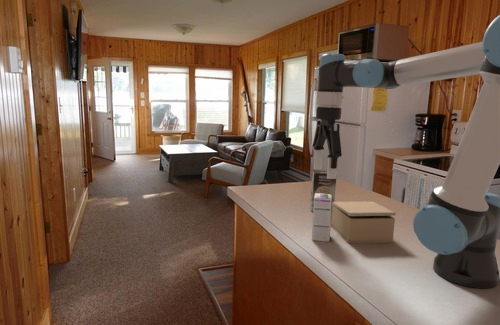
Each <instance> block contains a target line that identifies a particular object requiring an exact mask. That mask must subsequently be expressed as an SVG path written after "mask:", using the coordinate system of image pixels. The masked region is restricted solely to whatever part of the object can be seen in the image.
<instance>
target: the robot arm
mask: <svg viewBox="0 0 500 325" xmlns="http://www.w3.org/2000/svg"><path fill="white" fill-rule="evenodd" d="M318 65H319V66H318V83H317V84H318V86H317V92H316V105H318V106H317V107H316V111H315V112H316V113H315V118H316V119H318V120H317V122H316V128H315V134H314V138H313V141H312V148H313V149H314V154H313V155H314V156H313V170H323V157H324V151H325V146H324V145H325V143H326V144H327V149H328V153H329V154H328V155H327V170H326V171H327V179H336V180H337V177H336V176H338V174H337V172H338V161H339V158H341V157H342V156H343V154H342V145H341V144H342V143H341V136H340V134H341V133H340V128H341V127H340V123H336V121H339V120H340V119H341V117H342V108H341V107H342V103H343V99H344V95H343V93H344V88H345V87H346V88H347V87H348V88H349V87H350V88H368V89H369V88H371V89H384V90H393V89H397V88H399V87H403V86H409V85H416V84H423V83H429V82H435V81H441V80H449V79H454V78H455V79H456V78H462V77H469V76H475V75H480V76H481V78H482V80H483V84H482V86H481V88H480V91H479V94H478V96H477V99H476V101H475V104H474V105H473V109H472V111H471V114H470V116H469V119H468V121H467V123H466V125H465V128H464V130H463V133H462V135H461V139H460V140H459V143H458V146H457V148H456V151H455V154H454V156H453V158H452V160H451V163H450V165H449V168H448V169H447V170H448V171H447V173H446V176H445V178H444V180H443V182H442V183H441V184H439V185H436V186H434V187H433V188H432V191H431V193H430V196H429V198H428V201H427V204H426V205H424V206H422V207H421V208H420V209H419V210H418V211H416V213H415V214H414V217H413V221H412V225H413V226H412V227H413V231H414V234H415V236H416V237H417V239H418V241H419V242H420V244H422V245H423V246H424V247H425V248H426V249H428V250H429V251H431V252H433V253H435V254H437V255H436V256H435V257H434V259H433V265H432V269H433V272H435V273H436V275H439V276H440V277H441V278H443V279H445V280H446V281H447V280H448V281H449V282H451V283H455V284H458V285H461V286H462V287H463V286H465V287H469V288H473V287H474V289H491V287H492V288H494V287H497V286H498V284H499V282H500V271H499V267H498V261H497V256H496V246H497V243H498V242H497V241H498V234H499V229H500V195H498V194H495V193H493V192H488V191H489V189H490V186H491V184H492V183H493V180H494V177H495V175H496V173H497V171H498V168H499V167H500V14H499V15H498V16H496V17H495V18H494V19H493V20H492V21H491V23H490V24H489V25H488V26H487V28H486V30H485V31H484V35H483V38H482V41H480V42H475V43H471V44H467V45H461V46H457V47H456V46H455V47H453V48H447V49H444V50H439V51H435V52H429V53H425V54H420V55H416V56H415V55H414V56H410V57H407V58H402V59H398V60H392V61H388V62H387V61H386V62H381V61H380V60H379V59H377V58H362V59H352V60H351V59H349V60H346V55H344V54H342V53H325V54H322V55H321V56H320V60H319V64H318Z"/></svg>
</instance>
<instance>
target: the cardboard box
mask: <svg viewBox="0 0 500 325" xmlns="http://www.w3.org/2000/svg"><path fill="white" fill-rule="evenodd" d="M395 218H396V217H393V215H392V216H349V215H348V214H346V213H345V212H343V211H342V210H340V209H339V208H337V207H336V206H334V205H333V204H332V213H331V228H333V230H335V232H337V233H338V234H339V236H341V237H342V239H343V240H345V242H346V243H348V244H371V243H372V244H374V243H375V244H376V243H379V244H380V243H393V242H394V232H395V224H396V223H395V222H396V219H395Z"/></svg>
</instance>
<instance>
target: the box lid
mask: <svg viewBox="0 0 500 325" xmlns="http://www.w3.org/2000/svg"><path fill="white" fill-rule="evenodd" d="M332 204H333V205H334V206H336V207H337V208H339V209H340V210H342V211H343V212H345V213H346V214H348V215H349V216H392V217H393V216H396V215H397V213H396V212H395V211H393V210H390V209H389V208H386V207H385V206H382V205H381V204H378V203H377V202H375V201H372V200H371V201H334V202H332Z"/></svg>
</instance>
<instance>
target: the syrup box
mask: <svg viewBox="0 0 500 325" xmlns="http://www.w3.org/2000/svg"><path fill="white" fill-rule="evenodd" d="M331 206H332V195H331V194H325V193H315V195H314V206H313V211H312V231H311V240H313V241H316V242H317V241H318V242H326V243H327V242H328V243H329V242H330V239H331V238H330V237H331V228H332V226H331V219H332V213H331Z"/></svg>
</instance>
